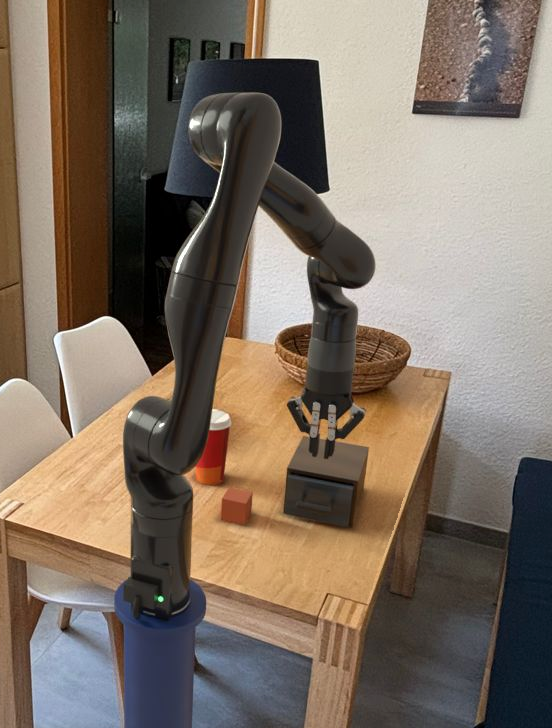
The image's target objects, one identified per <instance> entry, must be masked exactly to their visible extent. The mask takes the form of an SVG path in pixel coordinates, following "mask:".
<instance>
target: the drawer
mask: <svg viewBox="0 0 552 728" xmlns="http://www.w3.org/2000/svg"><path fill="white" fill-rule="evenodd" d="M353 489H354V486H353V484H350V483H345V482H340V481H334V480H329V479H324V478H318V477H313V476H308V475H303V474H297V473H295V474H294V475H291V474H289V476H288V482H287V493H286V505H285V513H284V515H288V516H292V517H297V518H301V519H302V518H303V519H307V520H310V521H317V522H321V523H325V524H330V525H335V526H340V527H343V528H349V527H348V526H349V521H350V513H351V505H352V497H353Z"/></svg>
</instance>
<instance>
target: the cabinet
mask: <svg viewBox="0 0 552 728" xmlns="http://www.w3.org/2000/svg"><path fill="white" fill-rule="evenodd" d="M309 442H310V436H307V435H302V437H301V439H300V441H299V443H298V444H297V447H296V449H295V451H294V453H293V455H292V457H291V459H290V460H289V463H288V464H287V466H286V475H285V488H284V499H283V511H282V512H283V513H282V514H285V505H286V493H287V482H288V476H289V474H291V475H294V474H295V473H297V474H303V475H308V476H313V477H318V478H324V479H329V480H334V481H340V482H345V483H350V484H353V486H354V489H353V497H352V505H351V513H350V521H349V526H348V527H347V528H354V525H355V524H354V523H355V521H356V517H357V514H358V510H359V507H360V504H361V501H362V496H363V493H364V489H365V483H366V475H367V467H368V466H367V465H368V458H369V450H370V447H369V446H365V445H359V444H354V443H348V442H342V441H337V440H335V449H334V453H333V455H332V457H330V456H329V458H328V459H324V451H325V442H326V439H324V438H320V440H319V450H318V454H317V457H312V453H310V452H309Z"/></svg>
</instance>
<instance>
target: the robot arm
mask: <svg viewBox="0 0 552 728" xmlns="http://www.w3.org/2000/svg"><path fill="white" fill-rule="evenodd" d="M187 128H188V129H187V131H188V138H189V142H190V144H191V147H192V149H193V150H194V152H195V153H196V155H197V156H198V157H199V158H200V159H202V160H203V162H205V163H206V164H207V165H209V166H210V167H211V168H213V170H215V171H217V172H218V173H219V175H218V180H217V183H216V188H215V191H214V194H213V197H212V199H211V201H210V203H209V206H208V207H207V209H206V211H205V213H204V214H203V216H202V217H201V219H200V220H199V221H198V223H197V224H196V226H194V228H193V229H192V231H191V232H190V233H189V235H187V237H186V239H185V240H184V242H183V244H182V245H181V247H180V248H179V250H178V252H177V253H176V256H175V258H174V261H173V265H172V268H171V272H170V276H169V281H168V284H167V285H168V286H167V291H166V294H165V300H164V319H165V323H166V327H167V328H166V329H167V334H168V338H169V342H170V346H171V347H170V348H171V351H172V355H173V356H172V357H173V360H174V385H173V390H172V395H173V396H172V395H171V396H172V401H168V400H166V399H167V398H164V397H162V396H156V395H150V396H149V395H147V396H144V397H142V398H140V399H139V400H137V401H136V402H135V403H134V404H133V405H132V407H130V409H129V411H128V414H127V415H126V418H125V421H124V426H123V431H122V455H123V470H124V482H125V486H126V489H127V491H128V494H129V497H130V576H128V578H127V579H125V580H126V582H125V583H124V584H123V599H124V601H125V602H129V603H131V611H132V613H133V616H134V618H135V619H136V620H139V619H140V617H141V616H140V614H143V615H146V616H150V617H154V618H157V619H161V620H164V621H169V620H170V618H171V617H173V616H176V615H179V614H181V613H182V612H184V611H185V610H186V609H187V608H188V606H189V604H190V598H191V595H190V579H191V577H192V576H191V573H192V570H191V569H192V545H193V544H192V542H193V541H192V540H193V518H194V517H193V516H194V515H193V513H194V489H193V486H192V484H191V482H190V480H188V478H187V477H186V476H185V475H186V474H188V473H190V472H191V471H193V470H194V469H195V466H196V465H197V463H198V462H199V461H200V459H201V457H202V455H203V453H204V450H205V447H206V444H207V440H208V435H209V430H210V423H211V416H212V409H214V402H215V401H214V400H215V393H216V388H217V387H216V386H217V380H218V374H219V369H220V365H221V364H220V363H221V359H222V354H223V349H224V344H225V340H226V336H227V332H228V327H229V322H230V320H231V317H232V313H233V309H234V306H235V302H236V298H237V293H238V289H239V284H240V280H241V279H240V278H241V273H242V269H243V265H244V261H245V256H246V253H247V249H248V245H249V241H250V237H251V233H252V230H253V226H254V222H255V219H256V215H257V212H258V208H260V209H261V210H262V211H263V212H264V213H265V214H266V215H267V216H269V218H270V219H271V220H272V221H273V222H274V224H275V225H277V227H278V228H279V229H280V230H281V232H282V233H283V234H284V235H285V236H286V237H287V238H288V239H289V241H290V242H291V243H292V244H293V245H294V247H295V248H297V250H298V251H300V252H301V253H302V254H304V255H306V256H308V257H307V261H306V276H307V283H308V289H309V294H310V295H309V296H310V300H311V305H312V310H313V314H312V324H311V332H310V333H311V335H310V340H309V344H308V350H307V360H306V362H307V363H306V370H305V380H304V381H305V382H304V389H303V391H302V392H301V394H300V395H298V396H296V397H295V396H291V397H289V400H288V401H287V403H286V407H287V409H288V411H289V413H290V415H291V417H292V418H293V420H294V423H295V424H296V426H297V428H298V429H299V432H301V433H302V434H303V433H304V434H305V433H306V434H307V435H308V437H310V442H309V452H310V453H312V457H317V454H318V450H319V440H320V439H321V433H320V428H321V423H322V420H325V421H327V436H326V438H325V440H326V442H325V451H324V459H328V458H329V456H330V457H332V455H333V453H334V449H335V441H337V440H338V439H340V440H345V439H346V438H347V437H348V436H349V435H350V434H351V433H352V432H353V431H354V430H355V429H356V428H357V426H358V425H359V424H360V423H361V422H362V421H363V419H365V416H366V413H367V409H366V408H365V407H359V406H358V405H357V404H355V402H354V398H353V396H352V395H353V394H352V389H353V381H354V371H355V364H356V361H357V357H356V354H357V345H356V344H357V330H358V322H359V306H358V304H357V303H355V302H354V301H353V300H351V299H350V298H348V297H347V296H346V295H345V294H344V292H343V289H347V290H358V289H359V290H360V289H362V288H364V287H365V286H367V285H368V284H369V283H370V282H371V281H372V280H373V278H374V276H375V273H376V267H377V265H376V262H377V261H376V258H375V254H374V252H373V250H372V248H371V247H370V246H369V245H368V244H367V242H366V241H364V240H363V239H362V238H361V237H360V236H359V235H358V234H356V233H355V232H354V231H352V230H351V229H350V228H349V227H347V226H346V225H344V224H343V223H341V222H340V221H339V220H338V219H337V218H336V216H335V214H334V213H333V212H332V211H331V210H330V208H329V207H328V206H327V204H325V201H323V200H322V198H321V197H320V196H319V195H318V194H317V192H316V191H314V190H313V189H312V188H311V187H310V186H308V185H307V184H306V183H305V182H303V181H302V180H301V179H299V178H297V177H296V176H295V175H293V174H292V173H290V172H289V171H287V170H286V169H284V168H283V167H282V166H281V165H279V164H278V163H277V162H275V159H276V156H277V152H278V149H279V144H280V141H281V136H282V135H281V134H282V115H281V111H280V108H279V106H278V103H277V102H276V100H275V99H274V98H273V97H272V96H270V95H269V94H266V93H263V92H221V93H220V92H219V93H216V94H211V95H210V94H209V95H208V96H205V97H204V98H202V99H201V100H200V101H199V102H197V103H196V105H194V107H193V109H192V111H191V112H190V117H189V118H188V127H187ZM303 406H305V408H306V409H307V411H308V412H309V414H310V416H311V419H310V420H311V421H309V420H308V418H307V415H306V414H305V412H304V410H303V409H302V408H303ZM349 410H350V412H349V419H348V421H346V423H345V424H344V425H342V427H341V428H338V426H339V425H338V424H339V419H340V418H342V417H343V416H344V415H345V414H346V413H347V412H348V411H349Z"/></svg>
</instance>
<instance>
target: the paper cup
mask: <svg viewBox="0 0 552 728" xmlns="http://www.w3.org/2000/svg"><path fill="white" fill-rule="evenodd" d="M232 423H233V422H232V420H231V417H230V414H229V413H226V412H225V411H223V410H220V409H215V408H213V409H212V416H211V423H210V430H209V435H208V440H207V444H206V447H205V450H204V453H203V455H202V457H201V459H200V461H199V462H198V463H197V465H196V466H195V467H194V469H195V479H196V481H197V482H198V483H200V484H202V485H205V486H216V485H219V484H221V483H222V482H223V481H224V478H225V470H226V464H227V463H226V462H227V455H228V454H227V453H228V445H229V438H230V437H229V436H230V428H231V426H232Z"/></svg>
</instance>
